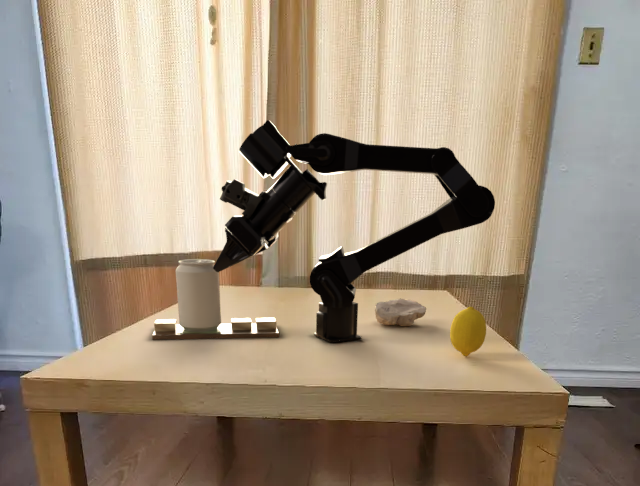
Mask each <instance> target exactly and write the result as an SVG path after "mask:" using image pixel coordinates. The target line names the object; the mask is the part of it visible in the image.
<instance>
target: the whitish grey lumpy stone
mask: <svg viewBox="0 0 640 486" xmlns="http://www.w3.org/2000/svg"><path fill="white" fill-rule="evenodd" d="M426 312H427V307H426V306H424V305H423V304H422V303H420V302H418V301H416V300H413V299H412V300H411V299H405V298H394V299H389V300H386V301H379V302H376V303H375V307H374V314H375V319H376V322H377V323H379V324H381V325H384V326H393V325H398V326H401V327H411V326H412V325H414V323H415V321H417V320H418V319H421V318H423V317H424V316H425V315H426Z"/></svg>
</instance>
